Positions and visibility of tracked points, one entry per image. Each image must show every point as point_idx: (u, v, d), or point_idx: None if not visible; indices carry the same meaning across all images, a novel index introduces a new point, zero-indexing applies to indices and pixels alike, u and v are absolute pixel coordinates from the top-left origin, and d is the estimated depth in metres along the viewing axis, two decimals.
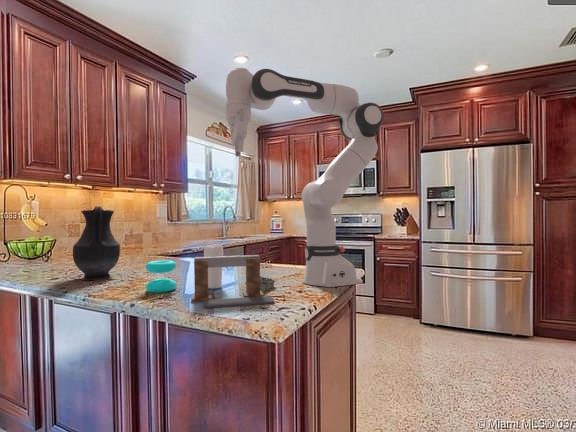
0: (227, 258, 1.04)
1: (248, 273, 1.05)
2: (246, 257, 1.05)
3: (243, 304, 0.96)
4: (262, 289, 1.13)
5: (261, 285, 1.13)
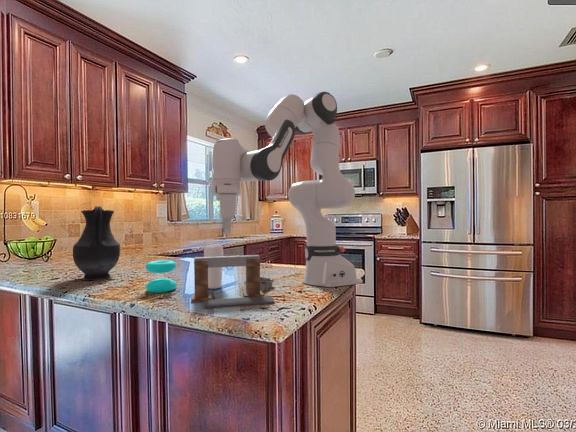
0: (227, 258, 1.04)
1: (248, 273, 1.05)
2: (246, 257, 1.05)
3: (243, 304, 0.96)
4: (261, 289, 1.13)
5: (260, 285, 1.13)
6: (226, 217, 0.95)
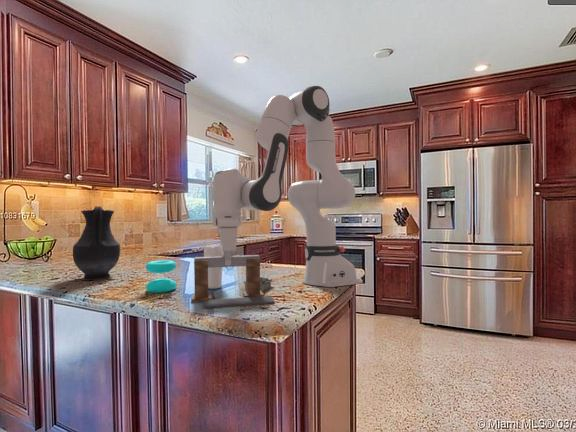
0: None
1: (248, 273, 1.05)
2: (246, 257, 1.05)
3: (243, 304, 0.96)
4: (261, 289, 1.13)
5: (260, 285, 1.13)
6: (227, 251, 0.96)
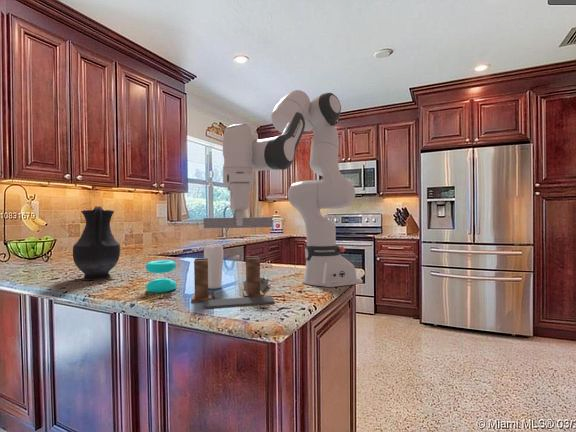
0: None
1: (248, 273, 1.05)
2: (258, 218, 0.99)
3: (243, 304, 0.96)
4: (261, 288, 1.14)
5: (260, 285, 1.14)
6: (239, 207, 0.89)
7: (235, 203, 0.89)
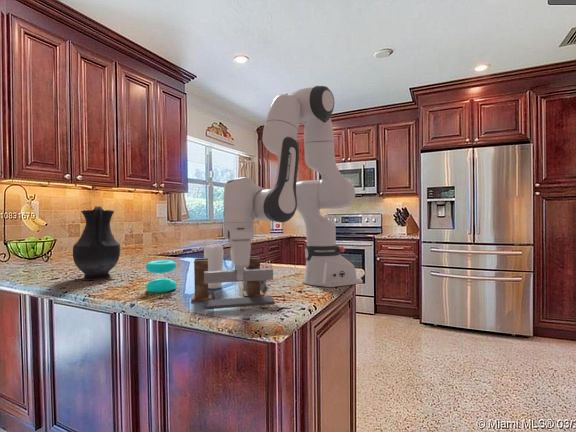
0: None
1: None
2: (259, 271, 0.99)
3: (243, 304, 0.96)
4: (261, 288, 1.14)
5: (260, 284, 1.14)
6: (240, 266, 0.89)
7: (236, 262, 0.89)
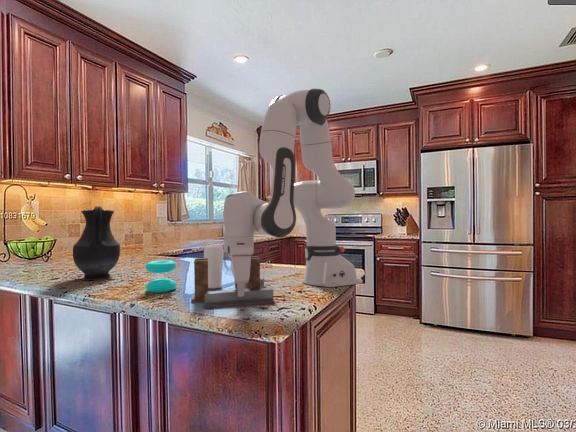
0: None
1: None
2: (259, 291, 0.99)
3: (243, 304, 0.96)
4: None
5: (260, 284, 1.14)
6: (240, 282, 0.90)
7: (236, 278, 0.89)
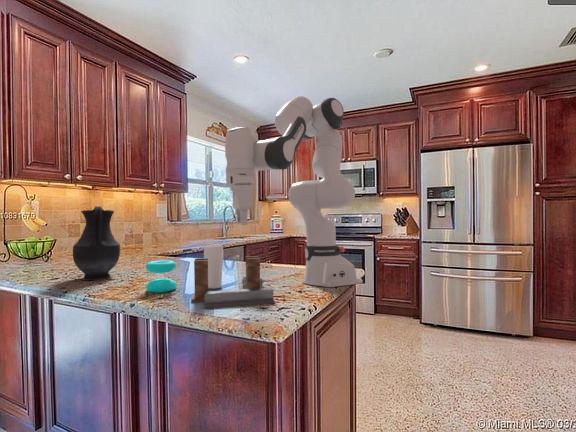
0: (239, 293, 0.98)
1: (248, 273, 1.05)
2: (259, 291, 0.99)
3: (243, 304, 0.96)
4: None
5: (260, 284, 1.14)
6: (243, 208, 0.95)
7: (239, 204, 0.94)
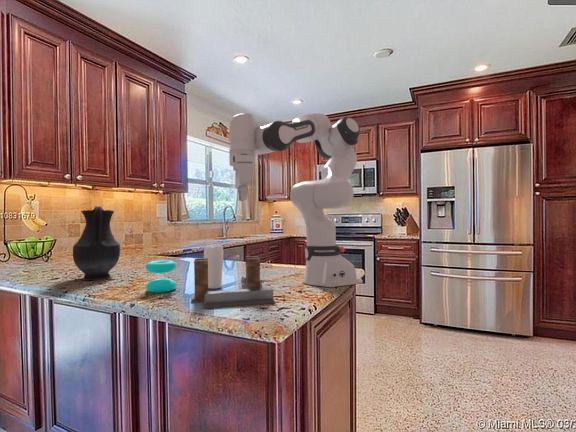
0: (239, 293, 0.98)
1: (248, 273, 1.05)
2: (259, 291, 0.99)
3: (243, 304, 0.96)
4: None
5: (260, 284, 1.14)
6: (243, 183, 1.07)
7: (240, 179, 1.06)
